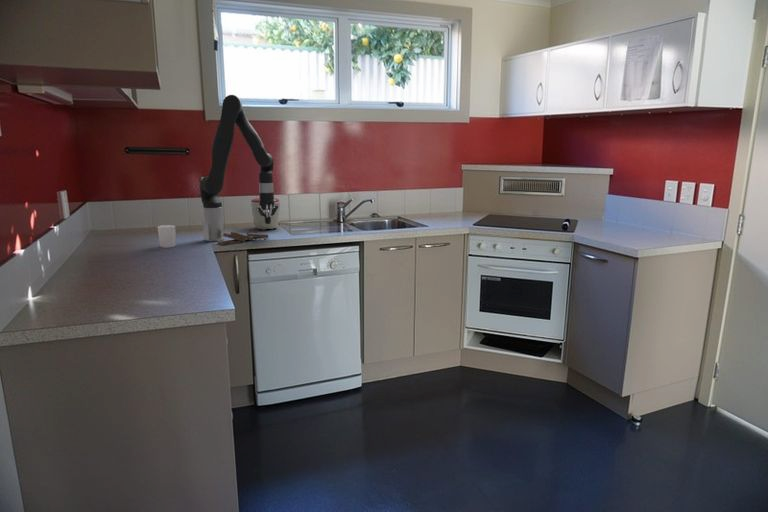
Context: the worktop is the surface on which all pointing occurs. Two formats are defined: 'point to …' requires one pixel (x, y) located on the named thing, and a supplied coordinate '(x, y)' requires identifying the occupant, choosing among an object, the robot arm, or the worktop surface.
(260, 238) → the domino
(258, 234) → the domino
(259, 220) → the canister
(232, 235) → the domino
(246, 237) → the domino
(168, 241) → the white cup
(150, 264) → the worktop surface
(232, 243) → the domino
